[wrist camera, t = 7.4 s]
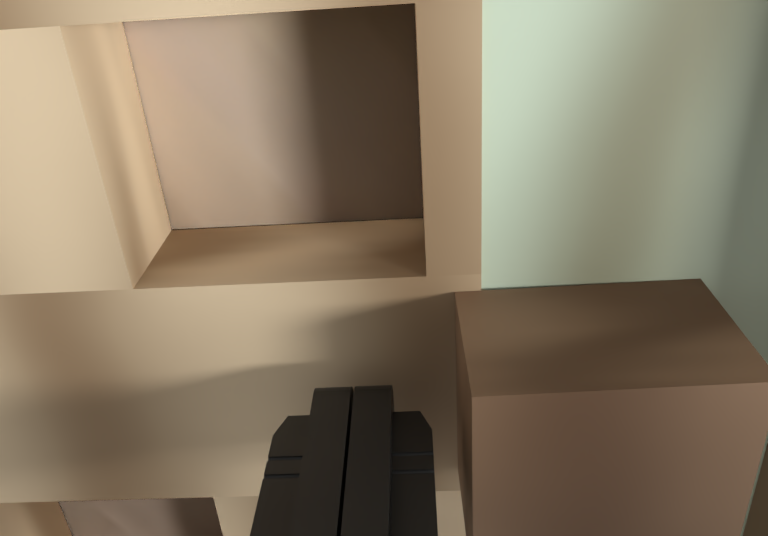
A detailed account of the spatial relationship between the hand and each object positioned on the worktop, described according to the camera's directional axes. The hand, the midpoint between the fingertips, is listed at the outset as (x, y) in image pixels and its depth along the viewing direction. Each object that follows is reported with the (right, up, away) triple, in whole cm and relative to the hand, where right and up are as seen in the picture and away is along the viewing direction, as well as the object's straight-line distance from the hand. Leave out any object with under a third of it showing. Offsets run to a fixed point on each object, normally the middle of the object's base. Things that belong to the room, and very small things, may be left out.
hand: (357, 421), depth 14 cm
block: (+4, +1, 0) cm, 4 cm away
